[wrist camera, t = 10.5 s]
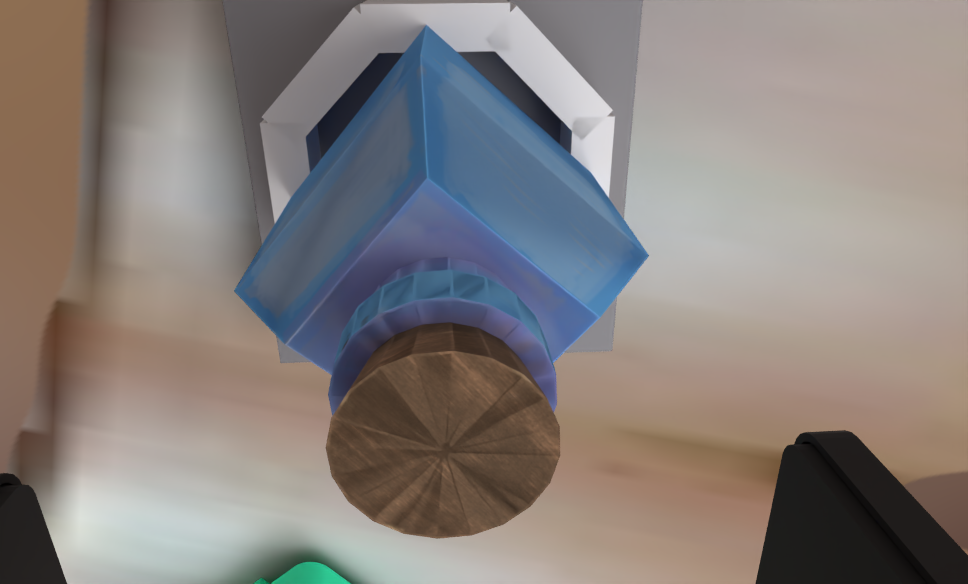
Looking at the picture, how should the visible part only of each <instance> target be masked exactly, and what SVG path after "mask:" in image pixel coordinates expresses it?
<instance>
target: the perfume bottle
mask: <svg viewBox="0 0 968 584" xmlns="http://www.w3.org/2000/svg"><path fill="white" fill-rule="evenodd" d="M648 256H649V255H648V254H647V252H646V251H645V249H644V248H643V247H642V245H641V244H640V242H639V241H638V239H637V238H636V236H635V235H634V234H633V232H632V231H631V229H630V228H629V226H628V225H627V224H626V222H625V221H624V219H623V218H622V216H621V215H620V213H619V212H618V211H617V209H616V208H615V206H614V205H613V203H612V202H611V200H610V199H609V198H608V196H607V195H606V193H605V192H604V190H603V189H602V188H601V186H600V185H599V183H598V182H597V180H596V179H595V177H594V176H593V175H592V173H591V172H590V171H589V170H588V169H587V168H585V167H584V166H583V165H582V164H581V163H580V162H579V161H578V160H577V159H575V158H574V157H573V156H572V155H571V154H570V153H569V152H568V151H566V150H565V149H564V148H563V147H562V146H561V145H560V144H559V143H558V142H556V141H555V140H554V139H553V138H552V137H551V136H550V135H549V134H548V133H546V132H545V131H544V130H543V129H542V128H541V127H540V126H539V125H538V124H536V123H535V122H534V121H533V120H532V119H531V118H530V117H529V116H528V115H526V114H525V113H524V112H523V111H522V110H521V109H520V108H519V107H518V106H516V105H515V104H514V103H513V102H512V101H511V100H510V99H509V98H508V97H506V96H505V95H504V94H503V93H502V92H501V91H500V90H499V89H498V88H496V87H495V86H494V85H493V84H492V83H491V82H490V81H489V80H487V79H486V78H485V77H484V76H483V75H482V74H481V73H480V72H479V71H477V70H476V69H475V68H474V67H473V66H472V65H471V64H470V63H469V62H467V61H466V60H465V59H464V58H463V57H462V56H461V55H460V54H459V53H457V52H456V51H455V50H454V49H453V48H452V47H451V46H450V45H449V44H447V43H446V42H445V41H444V40H443V39H442V38H441V37H440V36H439V35H437V34H436V33H435V32H434V31H433V30H432V29H431V28H430V27H429V26H427V25H426V26H425V27H424V28H423V30H422V31H421V32H420V33H419V35H418V36H417V37H416V39H415V40H414V41H413V42H412V44H411V45H410V46H409V47H408V49H407V50H406V51H405V53H404V54H403V55H402V56H401V58H400V59H399V60H398V62H397V63H396V64H395V65H394V67H393V68H392V69H391V70H390V72H389V73H388V74H387V76H386V77H385V78H384V79H383V81H382V82H381V83H380V85H379V86H378V87H377V88H376V90H375V91H374V92H373V93H372V95H371V96H370V97H369V99H368V100H367V101H366V102H365V104H364V105H363V106H362V107H361V109H360V110H359V111H358V113H357V114H356V115H355V116H354V118H353V119H352V120H351V122H350V123H349V124H348V125H347V127H346V128H345V129H344V130H343V132H342V133H341V134H340V136H339V137H338V138H337V139H336V141H335V142H334V143H333V144H332V146H331V147H330V148H329V150H328V151H327V152H326V153H325V155H324V156H323V157H322V159H321V160H320V161H319V162H318V164H317V165H316V166H315V167H314V169H313V170H312V171H311V173H310V174H309V175H308V176H307V178H306V179H305V180H304V182H303V183H302V184H301V185H300V187H299V188H298V189H297V190H296V192H295V193H294V194H293V196H292V197H291V198H290V200H289V202H288V203H287V205H286V207H285V208H284V210H283V211H282V213H281V215H280V216H279V218H278V220H277V221H276V223H275V225H274V226H273V228H272V229H271V231H270V233H269V234H268V236H267V238H266V239H265V241H264V243H263V244H262V246H261V248H260V249H259V251H258V252H257V254H256V256H255V257H254V259H253V261H252V262H251V264H250V266H249V267H248V269H247V270H246V272H245V274H244V275H243V277H242V279H241V280H240V282H239V284H238V285H237V287H236V288H235V290H234V291H235V293H236V294H237V295H238V296H239V297H240V298H241V299H242V300H243V301H244V302H245V303H246V304H247V305H248V306H249V307H250V308H251V309H252V310H253V312H254V313H255V314H256V315H257V316H258V317H259V318H260V319H261V320H262V321H263V322H264V323H265V324H266V325H267V326H268V327H269V328H270V329H271V331H272V332H273V333H274V334H275V335H276V336H277V337H278V338H279V339H280V340H281V341H282V342H283V343H284V344H285V345H286V346H288V347H289V348H291V349H292V350H294V351H295V352H297V353H298V354H300V355H302V356H303V357H305V358H306V359H308V360H309V361H311V362H312V363H314V364H315V365H317V366H319V367H320V368H322V369H323V370H325V371H326V372H328V373H329V374H331V375H332V377H331V382H330V387H329V393H328V396H329V401H330V406H331V411H332V418H331V423H330V428H329V433H328V438H327V444H326V451H327V456H328V460H329V465H330V470H331V474H332V477H333V479H334V480H335V482H336V483H337V485H338V486H339V488H340V489H341V491H342V493H343V494H344V496H345V497H346V499H347V500H348V502H350V503H351V504H352V505H353V506H355V507H356V508H357V509H359V510H360V511H361V512H362V513H364V514H365V515H366V516H367V517H369V518H370V519H371V520H372V521H374V522H377V523H379V524H381V525H384V526H386V527H389V528H391V529H394V530H396V531H399V532H401V533H403V534H410V535H417V536H424V537H431V538H448V537H459V536H469V535H474V534H477V533H480V532H483V531H486V530H489V529H492V528H494V527H497V526H500V525H503V524H505V523H506V522H508V521H509V520H511V519H512V518H514V517H515V516H517V515H518V514H520V513H521V512H523V511H524V510H526V509H527V508H529V507H530V506H531V505H532V504H533V503H534V502H535V500H536V499H537V498H538V497H539V496H540V494H541V493H542V492H543V491H544V490H545V488H546V487H547V486H548V485H549V484H550V481H551V479H552V476H553V473H554V471H555V468H556V465H557V463H558V460H559V457H560V427H559V424H558V422H557V420H556V417H555V415H554V410H555V408H556V405H557V393H556V372H555V369H554V365H553V363H554V362H555V361H556V360H557V359H558V358H559V357H560V356H561V355H562V354H563V353H564V352H565V351H566V350H567V349H568V348H569V347H570V346H571V345H572V344H573V343H574V342H575V341H576V340H578V339H579V338H580V337H581V336H582V335H583V334H584V333H585V332H586V331H587V330H588V329H589V328H590V327H591V326H592V325H593V324H594V323H595V322H596V321H597V320H598V319H599V318H600V317H601V316H602V315H603V314H604V312H605V311H606V310H607V308H608V307H609V306H610V305H611V303H612V302H613V301H614V300H615V298H616V297H617V296H618V294H619V293H620V292H621V291H622V289H623V288H624V287H625V286H626V284H627V283H628V282H629V280H630V279H631V278H632V277H633V275H634V274H635V273H636V272H637V270H638V269H639V268H640V267H641V265H642V264H643V263H644V261H645V260H646V259H647V258H648Z"/></svg>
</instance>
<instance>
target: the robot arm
mask: <svg viewBox="0 0 968 584" xmlns="http://www.w3.org/2000/svg"><path fill="white" fill-rule="evenodd" d="M0 584H67V582H66V579H65V577H64V574H63V571H62V568H61V565H60V562H59V560H58V557H57V554H56V551H55V548H54V545H53V542H52V540H51V537H50V534H49V531H48V528H47V525H46V522H45V520H44V517H43V514H42V511H41V508H40V505H39V503H38V500H37V497H36V494H35V492H34V490H33V489H32V488H31V487H30V486H29V485H22V484H21V482H20V480H19V479H18V478H17V477H16V476H15V475H13V474H8V473H2V474H0ZM756 584H968V555H967V554H966V553H965V552H964V551H963V550H962V549H961V548H960V546H958V544H957V543H956V542H955V541H954V540H953V539H952V538H951V537H950V536H949V535H948V534H947V533H946V532H945V530H944V529H943V528H941V526H940V525H939V524H938V523H937V522H936V521H935V520H934V519H933V518H932V517H931V515H930V514H929V513H928V512H927V511H926V510H925V509H924V508H923V507H922V506H921V505H920V504H919V503H918V502H917V501H916V499H915V498H914V497H913V496H912V495H911V494H910V493H909V492H908V491H907V490H906V489H905V488H904V486H903V485H902V484H901V483H900V482H899V481H898V480H897V479H896V478H895V477H894V476H893V475H892V474H891V473H890V472H889V470H888V469H887V468H886V467H885V466H884V465H883V464H882V463H881V462H880V461H879V460H878V459H877V458H876V457H875V455H874V454H873V453H872V452H871V451H870V450H869V449H868V448H867V447H866V446H865V445H864V444H863V443H862V442H861V440H860V439H859V438H858V437H857V436H855V435H854V434H853V433H852V432H849V431H845V430H844V431H824V432H805V433H802V434H800V435H799V436H798V437H797V439H796V441H795V444H794V445H788V446H787V447H786V448H785V449H784V452H783V455H782V460H781V465H780V469H779V474H778V479H777V484H776V489H775V493H774V498H773V503H772V508H771V513H770V517H769V522H768V527H767V532H766V536H765V541H764V546H763V551H762V556H761V560H760V565H759V570H758V575H757V580H756Z"/></svg>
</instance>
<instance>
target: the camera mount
mask: <svg viewBox="0 0 968 584" xmlns="http://www.w3.org/2000/svg"><path fill="white" fill-rule="evenodd" d="M253 584H270V583H268V582H267V581H266V580H264V579H263V578H260V579H259V580H258V581H256V582H255V583H253ZM271 584H351V583H349V582H348V581H347V580H345V579H344V578H342V577H341V576H340V575H338V574H337V573H336V572H334V571H333V570H331V569H330V568H329V567H327V566H326V565H323V564H321V563H317V562H304V563H300V564H298V565H296V566H294V567H293V568H292V569H290V570H289V571H287V572H286V573H285V574H283V575H282V576H280V577H279V578H278V579H276V580H275V581H273V582H272V583H271Z"/></svg>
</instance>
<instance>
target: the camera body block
mask: <svg viewBox="0 0 968 584" xmlns="http://www.w3.org/2000/svg"><path fill="white" fill-rule="evenodd" d="M222 1H223V7H224V13H225V19H226V26H227V32H228V38H229V44H230V51H231V57H232V63H233V69H234V76H235V82H236V88H237V94H238V100H239V107H240V113H241V119H242V125H243V132H244V138H245V144H246V150H247V157H248V163H249V169H250V175H251V181H252V188H253V194H254V200H255V206H256V213H257V219H258V225H259V231H260V238H261V244H263V243H264V241H265V239H266V238H267V236H268V234H269V233H270V231H271V229H272V228H273V226H274V225H275V223H276V221H277V220H278V218H279V216H280V215H281V213H282V211H283V210H284V208H285V207H286V205H287V203H288V202H289V200H290V198H291V197H292V196H293V194H294V193H295V192H296V190H297V189H298V188H299V187H300V185H301V184H302V183H303V182H304V180H305V179H306V178H307V176H308V175H309V174H310V173H311V171H312V170H313V169H314V167H315V166H316V165H317V164H318V162H319V161H320V160H321V159H322V157H323V156H324V155H325V153H326V152H327V151H328V150H329V148H330V147H331V146H332V144H333V143H334V142H335V141H336V139H337V138H338V137H339V136H340V134H341V133H342V132H343V130H344V129H345V128H346V127H347V125H348V124H349V123H350V122H351V120H352V119H353V118H354V116H355V115H356V114H357V113H358V111H359V110H360V109H361V107H362V106H363V105H364V104H365V102H366V101H367V100H368V99H369V97H370V96H371V95H372V93H373V92H374V91H375V90H376V88H377V87H378V86H379V85H380V83H381V82H382V81H383V79H384V78H385V77H386V76H387V74H388V73H389V72H390V70H391V69H392V68H393V67H394V65H395V64H396V63H397V62H398V60H399V59H400V58H401V56H402V55H403V54H404V53H405V51H406V50H407V49H408V47H409V46H410V45H411V44H412V42H413V41H414V40H415V39H416V37H417V36H418V35H419V33H420V32H421V31H422V30H423V28H424V27H425V26H426V25H427V26H429V27H430V28H431V29H432V30H433V31H434V32H435V33H436V34H437V35H439V36H440V37H441V38H442V39H443V40H444V41H445V42H446V43H447V44H449V45H450V46H451V47H452V48H453V49H454V50H455V51H456V52H457V53H459V54H460V55H461V56H462V57H463V58H464V59H465V60H466V61H467V62H469V63H470V64H471V65H472V66H473V67H474V68H475V69H476V70H477V71H479V72H480V73H481V74H482V75H483V76H484V77H485V78H486V79H487V80H489V81H490V82H491V83H492V84H493V85H494V86H495V87H496V88H498V89H499V90H500V91H501V92H502V93H503V94H504V95H505V96H506V97H508V98H509V99H510V100H511V101H512V102H513V103H514V104H515V105H516V106H518V107H519V108H520V109H521V110H522V111H523V112H524V113H525V114H526V115H528V116H529V117H530V118H531V119H532V120H533V121H534V122H535V123H536V124H538V125H539V126H540V127H541V128H542V129H543V130H544V131H545V132H546V133H548V134H549V135H550V136H551V137H552V138H553V139H554V140H555V141H556V142H558V143H559V144H560V145H561V146H562V147H563V148H564V149H565V150H566V151H568V152H569V153H570V154H571V155H572V156H573V157H574V158H575V159H577V160H578V161H579V162H580V163H581V164H582V165H583V166H584V167H585V168H587V169H588V170H589V171H590V172H591V173H592V175H593V176H594V177H595V179H596V180H597V182H598V183H599V185H600V186H601V188H602V189H603V190H604V192H605V193H606V195H607V196H608V198H609V199H610V200H611V202H612V203H613V205H614V206H615V208H616V209H617V211H618V212H619V213H620V215H621V216H622V218H623V219H624V209H625V198H626V186H627V175H628V163H629V152H630V140H631V129H632V117H633V106H634V94H635V83H636V71H637V60H638V48H639V37H640V25H641V14H642V2H643V0H222ZM616 301H617V297H616V298H615V300H614V301H613V302H612V303H611V305H610V306H609V307H608V308H607V310H606V311H605V312H604V314H603V315H602V316H601V317H600V318H599V319H598V320H597V321H596V322H595V323H594V324H593V325H592V326H591V327H590V328H589V329H588V330H587V331H586V332H585V333H584V334H583V335H582V336H581V337H580V338H579V339H578V340H576V341H575V342H574V343H573V344H572V345H571V346H570V347H569V348H568V349H567V350H566V351H565V352H564V353H570V352H597V351H612V347H613V335H614V324H615V313H616ZM276 337H277V336H276ZM277 343H278V350H279V356H280V362H281V363H294V362H311V361H309V360H308V359H306V358H305V357H303V356H302V355H300V354H298V353H297V352H295V351H294V350H292V349H291V348H289V347H288V346H286V345H285V344H284V343H283V342H282V341H281V340H280V339H279V338H278V337H277Z"/></svg>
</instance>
